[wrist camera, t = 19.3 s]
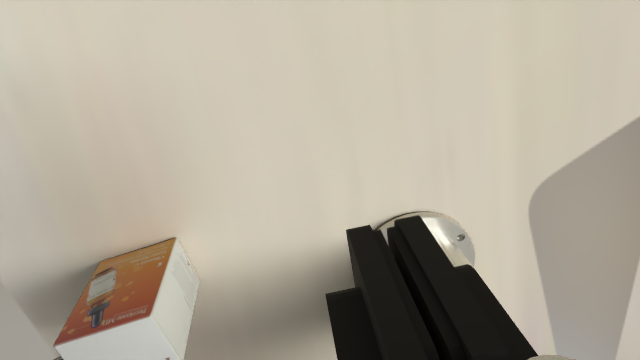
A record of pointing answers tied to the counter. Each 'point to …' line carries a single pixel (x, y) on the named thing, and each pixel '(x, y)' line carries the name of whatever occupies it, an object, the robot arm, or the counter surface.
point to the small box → (134, 308)
